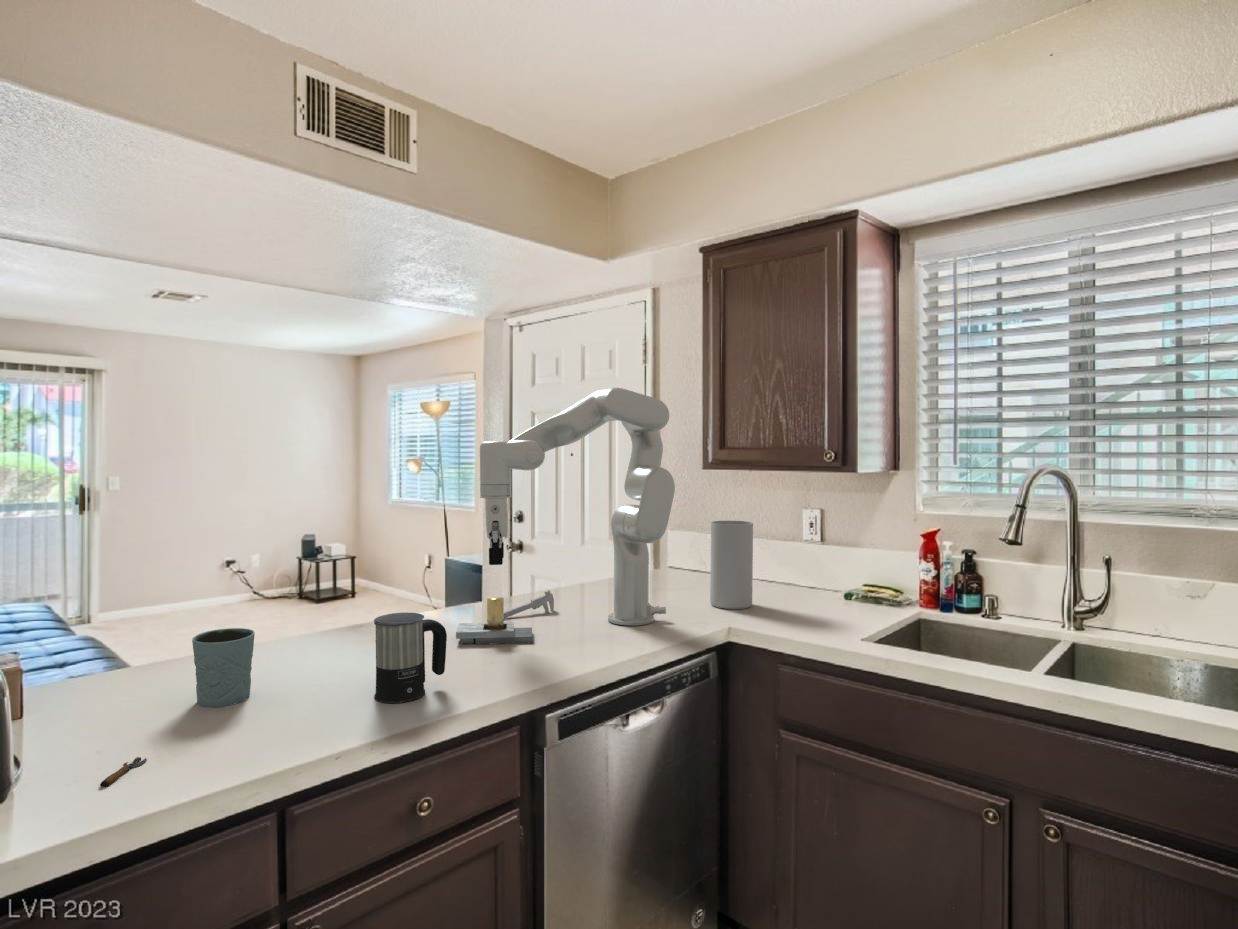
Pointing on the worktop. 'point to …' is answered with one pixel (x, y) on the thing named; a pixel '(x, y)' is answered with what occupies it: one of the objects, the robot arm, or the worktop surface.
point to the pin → (495, 613)
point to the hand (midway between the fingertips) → (496, 561)
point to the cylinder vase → (731, 564)
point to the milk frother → (405, 655)
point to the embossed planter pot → (223, 666)
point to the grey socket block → (492, 634)
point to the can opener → (122, 772)
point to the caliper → (533, 604)
